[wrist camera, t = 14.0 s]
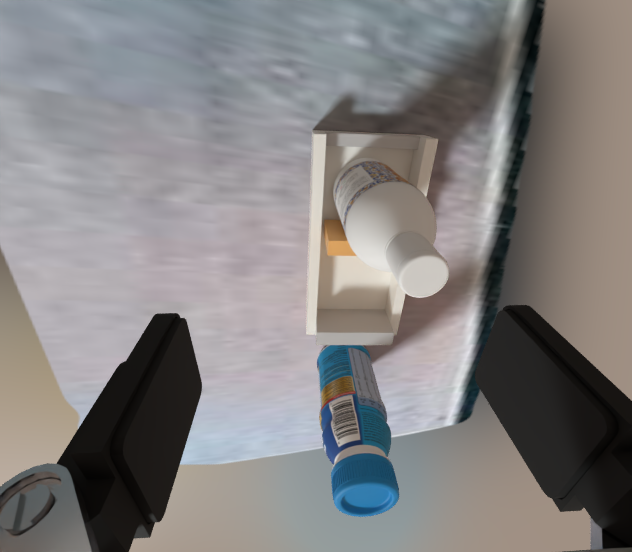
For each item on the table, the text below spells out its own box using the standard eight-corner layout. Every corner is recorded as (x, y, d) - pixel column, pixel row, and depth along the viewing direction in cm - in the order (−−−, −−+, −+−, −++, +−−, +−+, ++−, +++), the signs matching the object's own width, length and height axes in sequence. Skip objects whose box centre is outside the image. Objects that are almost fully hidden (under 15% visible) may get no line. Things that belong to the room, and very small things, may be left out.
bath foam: (403, 200, 36) (500, 295, 19) (349, 229, 38) (392, 342, 20) (379, 144, 33) (467, 194, 16) (321, 177, 35) (343, 258, 17)
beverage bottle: (377, 342, 48) (422, 482, 30) (360, 381, 52) (391, 525, 34) (323, 333, 46) (338, 473, 29) (310, 373, 50) (315, 519, 33)
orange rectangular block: (324, 219, 37) (328, 240, 31) (397, 221, 37) (414, 242, 32) (323, 232, 37) (327, 255, 32) (395, 234, 38) (411, 257, 32)
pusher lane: (312, 130, 33) (314, 136, 28) (424, 135, 34) (447, 141, 29) (305, 316, 45) (306, 345, 40) (389, 316, 46) (401, 345, 40)
